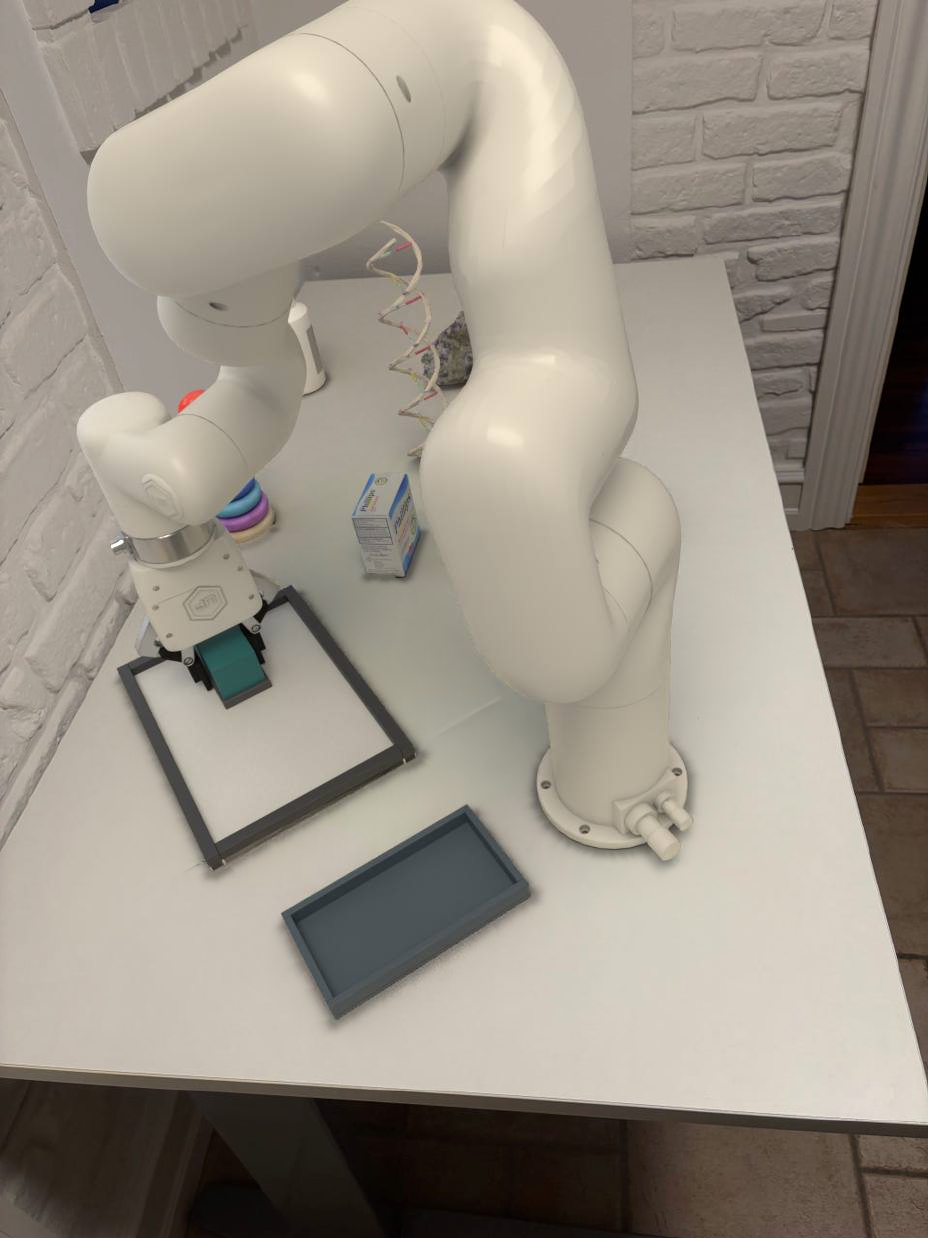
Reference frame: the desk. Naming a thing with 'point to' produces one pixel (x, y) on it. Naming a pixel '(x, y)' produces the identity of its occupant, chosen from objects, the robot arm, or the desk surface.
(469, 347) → the mineral rock
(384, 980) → the tray
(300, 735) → the whiteboard
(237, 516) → the stacking toy
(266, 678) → the eraser
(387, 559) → the medicine box
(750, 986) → the desk surface
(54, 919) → the desk surface
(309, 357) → the spray bottle
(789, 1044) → the desk surface
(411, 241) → the dna model
